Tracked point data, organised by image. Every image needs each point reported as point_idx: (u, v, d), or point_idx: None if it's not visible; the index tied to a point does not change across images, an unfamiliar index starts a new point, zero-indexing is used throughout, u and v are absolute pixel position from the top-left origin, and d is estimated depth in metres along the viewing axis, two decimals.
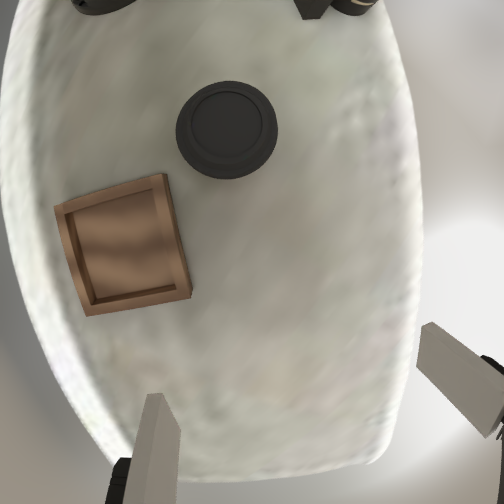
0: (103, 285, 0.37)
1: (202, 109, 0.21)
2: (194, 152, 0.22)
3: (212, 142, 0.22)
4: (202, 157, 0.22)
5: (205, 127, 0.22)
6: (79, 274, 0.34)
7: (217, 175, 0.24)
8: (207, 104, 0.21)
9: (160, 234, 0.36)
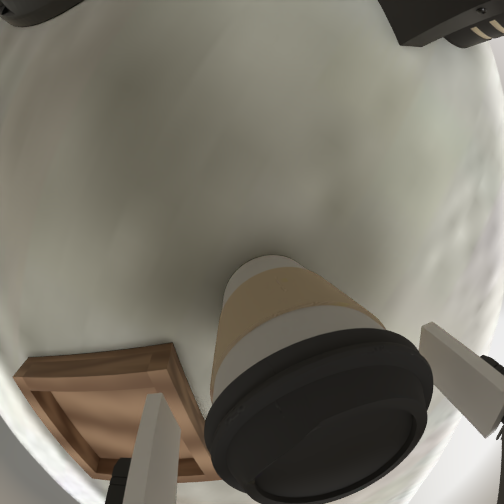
0: (105, 449, 0.23)
1: None
2: (261, 500, 0.08)
3: (300, 486, 0.08)
4: None
5: (288, 473, 0.07)
6: (73, 449, 0.19)
7: None
8: None
9: None
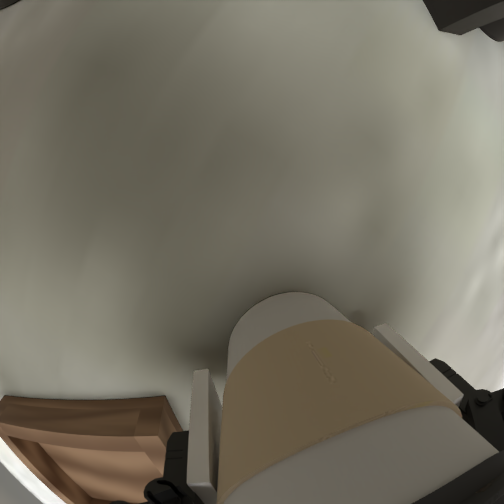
0: (96, 491, 0.17)
1: None
2: None
3: None
4: None
5: None
6: (61, 492, 0.14)
7: None
8: None
9: None
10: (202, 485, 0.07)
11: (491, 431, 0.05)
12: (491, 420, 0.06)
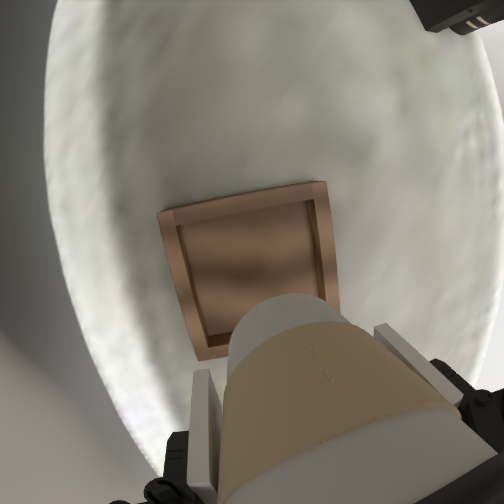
0: (220, 319, 0.31)
1: None
2: None
3: None
4: None
5: None
6: (195, 308, 0.28)
7: None
8: None
9: (307, 254, 0.30)
10: (202, 485, 0.07)
11: (491, 431, 0.05)
12: (491, 420, 0.06)
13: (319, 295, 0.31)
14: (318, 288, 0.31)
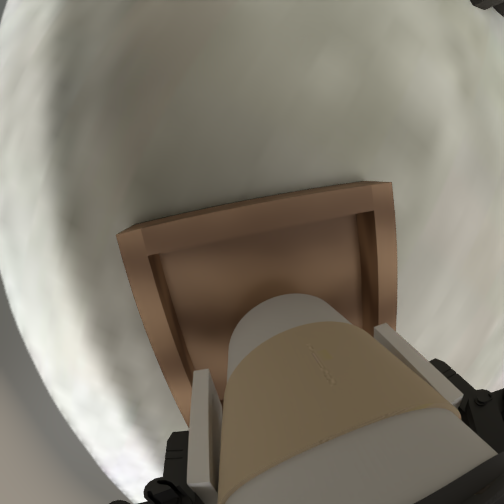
0: (224, 382, 0.20)
1: None
2: None
3: None
4: None
5: None
6: (186, 378, 0.17)
7: None
8: None
9: (352, 291, 0.20)
10: (202, 485, 0.07)
11: (491, 431, 0.05)
12: (491, 420, 0.06)
13: None
14: None
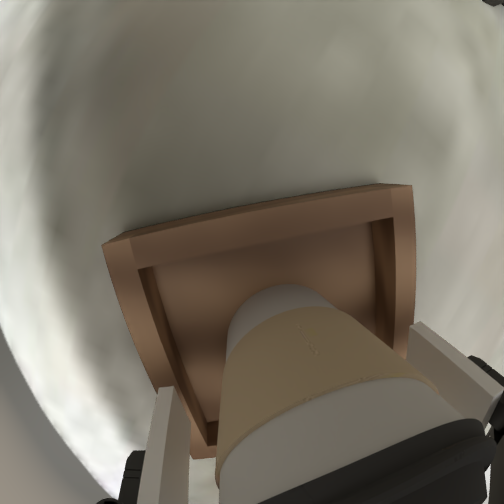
0: None
1: None
2: None
3: None
4: None
5: None
6: (184, 401, 0.15)
7: None
8: None
9: (365, 305, 0.18)
10: None
11: None
12: None
13: None
14: None
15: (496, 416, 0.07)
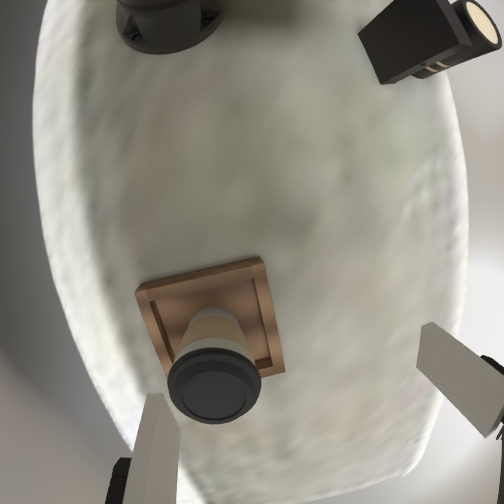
0: None
1: (189, 387, 0.23)
2: (189, 415, 0.24)
3: (203, 409, 0.24)
4: (196, 420, 0.24)
5: (195, 400, 0.23)
6: (169, 358, 0.35)
7: None
8: (193, 383, 0.23)
9: (255, 315, 0.38)
10: None
11: None
12: None
13: (267, 345, 0.38)
14: (266, 340, 0.38)
15: None
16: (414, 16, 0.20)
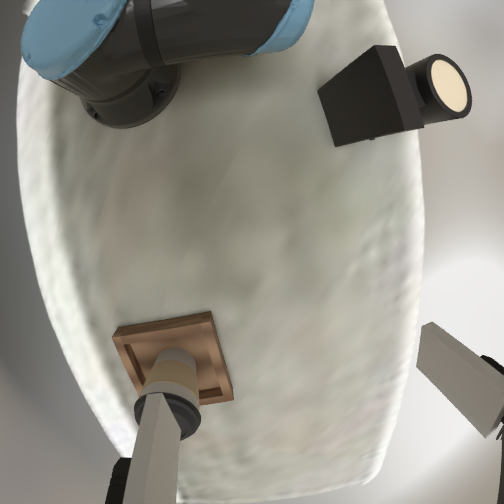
0: None
1: None
2: None
3: None
4: None
5: None
6: (141, 385, 0.42)
7: None
8: None
9: (208, 356, 0.44)
10: None
11: None
12: None
13: None
14: None
15: None
16: (365, 88, 0.26)
